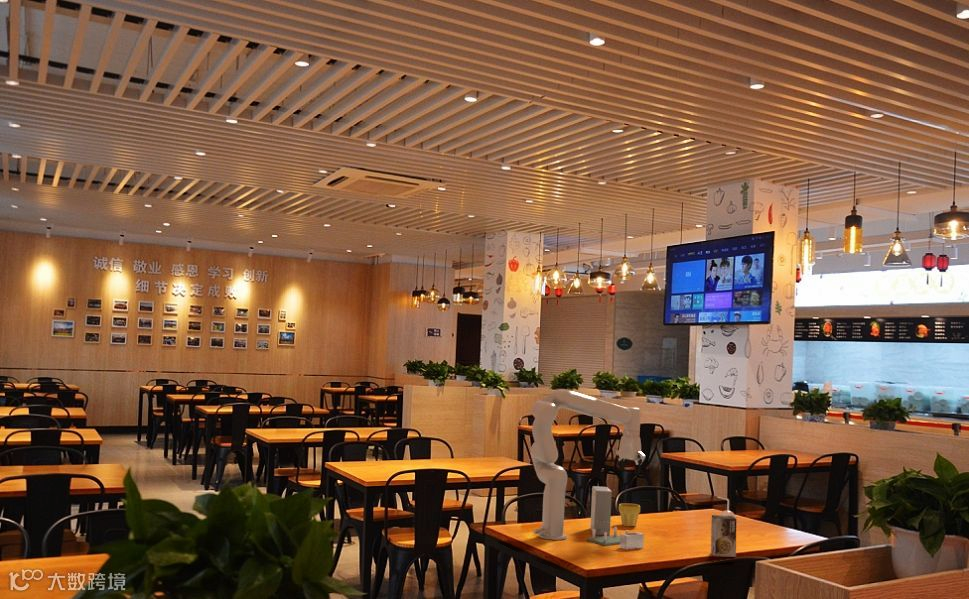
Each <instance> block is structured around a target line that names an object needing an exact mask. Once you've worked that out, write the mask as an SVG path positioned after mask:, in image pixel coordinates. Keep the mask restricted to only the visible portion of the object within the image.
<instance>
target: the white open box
mask: <svg viewBox="0 0 969 599" xmlns="http://www.w3.org/2000/svg"><path fill="white" fill-rule="evenodd" d="M619 536H620V544H619V549H622V548H623V549H622V550H625V549H626V551H627V550H628V549H630V550H636V549H635V548H638V549H643V548H644V542H645V541H644V540H645V537H644V536H645V534H644V533H642V532H639V531H636V532H635V531H634V532H628V533H626V532H625V533H620V535H619Z"/></svg>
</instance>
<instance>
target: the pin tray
mask: <svg viewBox="0 0 969 599" xmlns="http://www.w3.org/2000/svg"><path fill="white" fill-rule="evenodd" d="M617 531H618V527H617V526H614V527H613V534H612V535H607V533H604V535H601V536H597V537H596V534H595V529H593V532H592V537H587V540H588V542H591V543H594V542H595V543H594V544H597V543H598V545H600V546H605V547H607V546H606V545H608V546H613V545H614V544H616V545H620V535H618V534H617V533H618V532H617ZM629 531H630V530H628V529H626V530H625V533H629Z"/></svg>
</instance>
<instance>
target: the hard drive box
mask: <svg viewBox="0 0 969 599" xmlns="http://www.w3.org/2000/svg"><path fill="white" fill-rule="evenodd" d="M612 494H613V491H612V490H611V489H610V488H609V487H607V486H595V485H593V486H592V488H591V505H590V506H591V509H590V530H591V532H592V533H593V529H595V536H596V535H600V536H604V533H607V536H611V535H610V534H611V522H612V519H611V517H612V515H611V514H612Z"/></svg>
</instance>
